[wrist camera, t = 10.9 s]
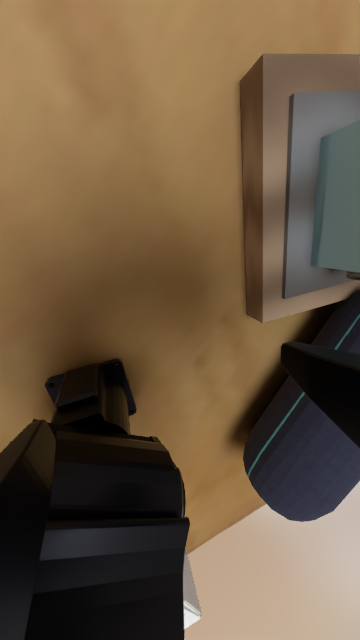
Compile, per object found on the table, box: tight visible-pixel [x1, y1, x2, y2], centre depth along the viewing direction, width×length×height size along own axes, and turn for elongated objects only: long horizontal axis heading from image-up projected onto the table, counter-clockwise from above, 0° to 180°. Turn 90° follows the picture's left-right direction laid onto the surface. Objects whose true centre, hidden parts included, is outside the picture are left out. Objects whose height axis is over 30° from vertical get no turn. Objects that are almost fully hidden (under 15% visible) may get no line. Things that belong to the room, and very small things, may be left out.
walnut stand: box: [240, 54, 360, 323], centre depth 19 cm, size 18×15×3 cm
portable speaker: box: [243, 290, 360, 522], centre depth 23 cm, size 25×10×10 cm, turn 150°
